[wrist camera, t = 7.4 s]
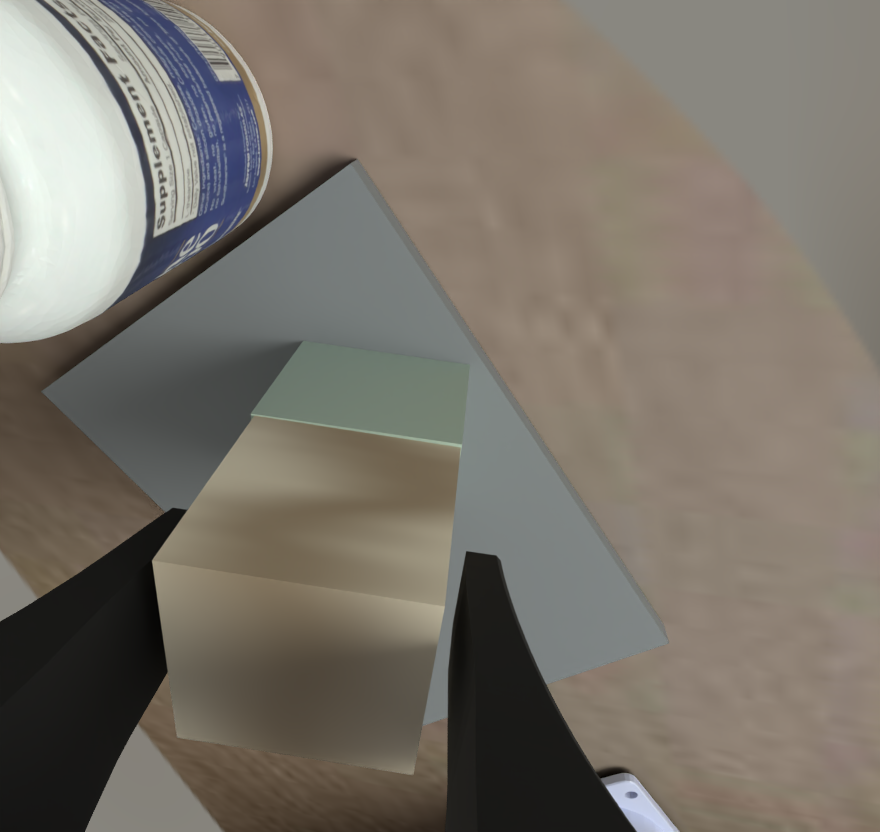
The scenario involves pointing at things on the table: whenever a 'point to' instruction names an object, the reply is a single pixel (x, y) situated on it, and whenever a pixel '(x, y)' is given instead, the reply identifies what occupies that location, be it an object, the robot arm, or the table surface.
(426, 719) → the board
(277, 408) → the sage block
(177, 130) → the pill bottle
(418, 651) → the birch block
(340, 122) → the table surface
